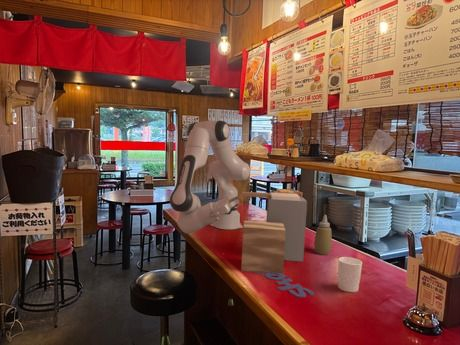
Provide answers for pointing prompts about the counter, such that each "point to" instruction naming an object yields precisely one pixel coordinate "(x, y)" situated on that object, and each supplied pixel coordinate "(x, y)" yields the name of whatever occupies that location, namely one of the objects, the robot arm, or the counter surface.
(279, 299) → the counter surface
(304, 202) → the carton
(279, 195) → the lid flap
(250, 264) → the box
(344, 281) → the white cup
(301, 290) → the signage
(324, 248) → the squeeze bottle
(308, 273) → the counter surface
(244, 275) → the counter surface
